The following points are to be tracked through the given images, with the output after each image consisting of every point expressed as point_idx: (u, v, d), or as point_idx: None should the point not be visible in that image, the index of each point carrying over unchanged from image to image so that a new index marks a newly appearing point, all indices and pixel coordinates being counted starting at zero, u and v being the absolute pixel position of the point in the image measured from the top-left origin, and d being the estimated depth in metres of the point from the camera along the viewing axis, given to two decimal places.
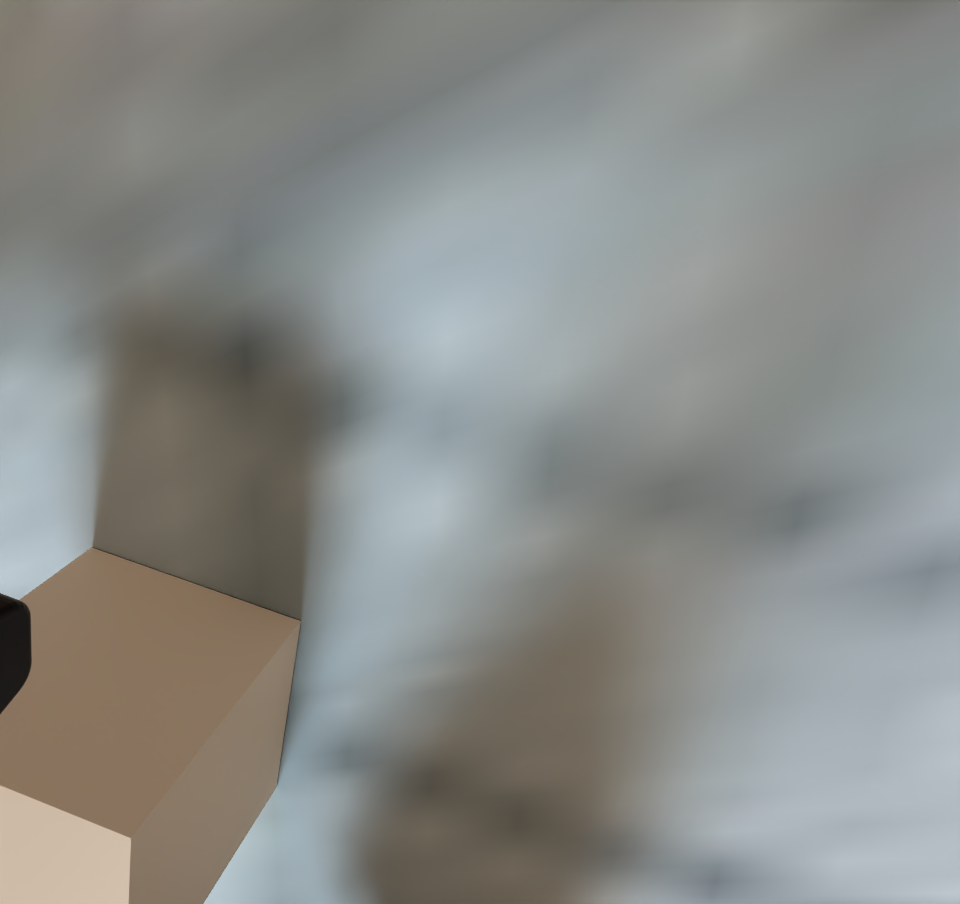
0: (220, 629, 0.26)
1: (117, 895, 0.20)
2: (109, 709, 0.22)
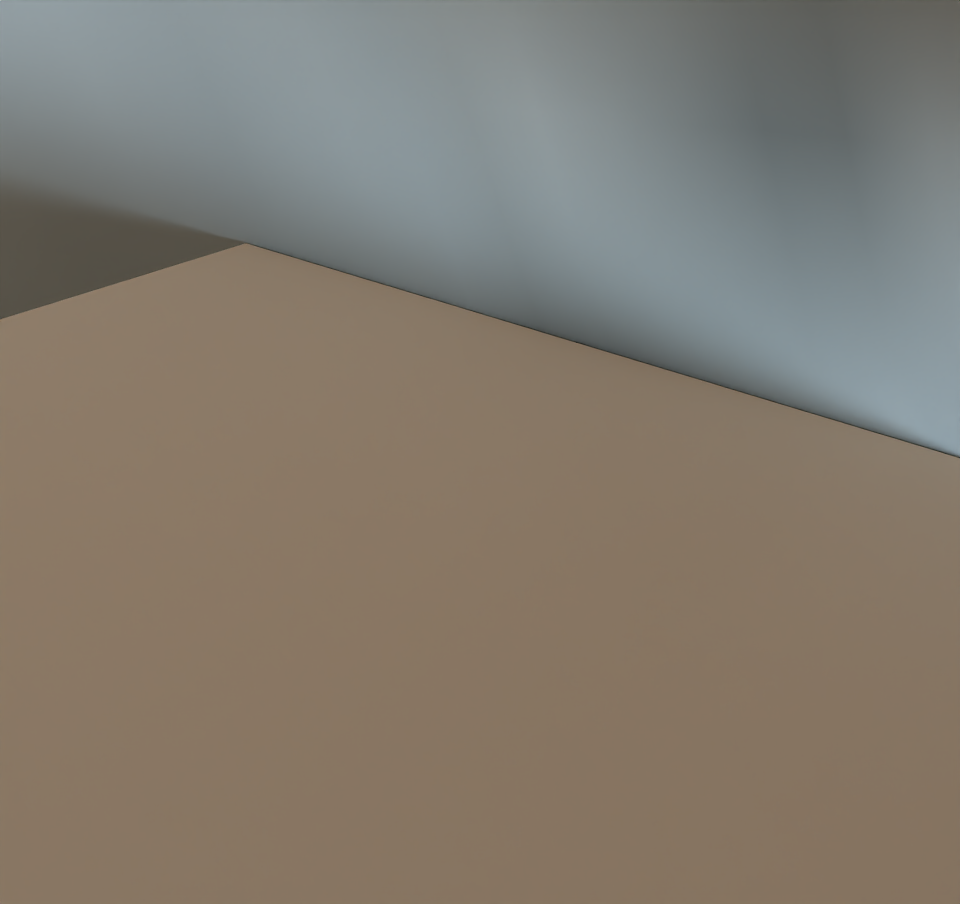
0: None
1: None
2: None
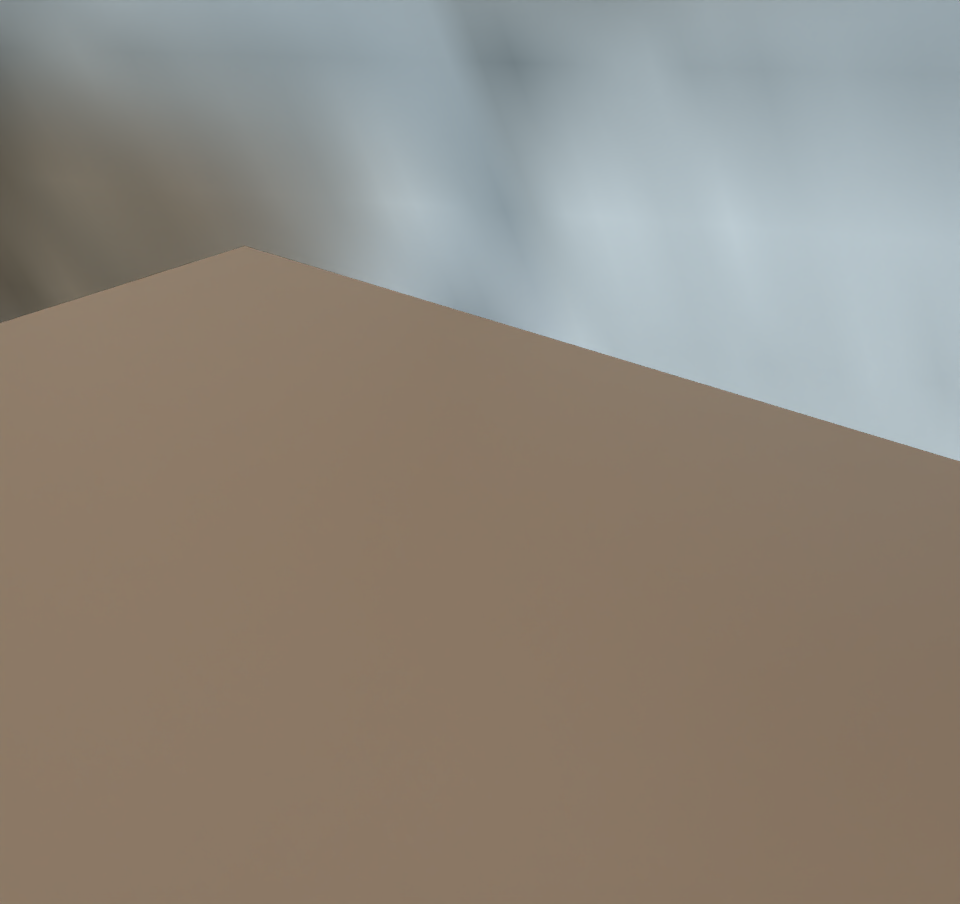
0: None
1: None
2: None
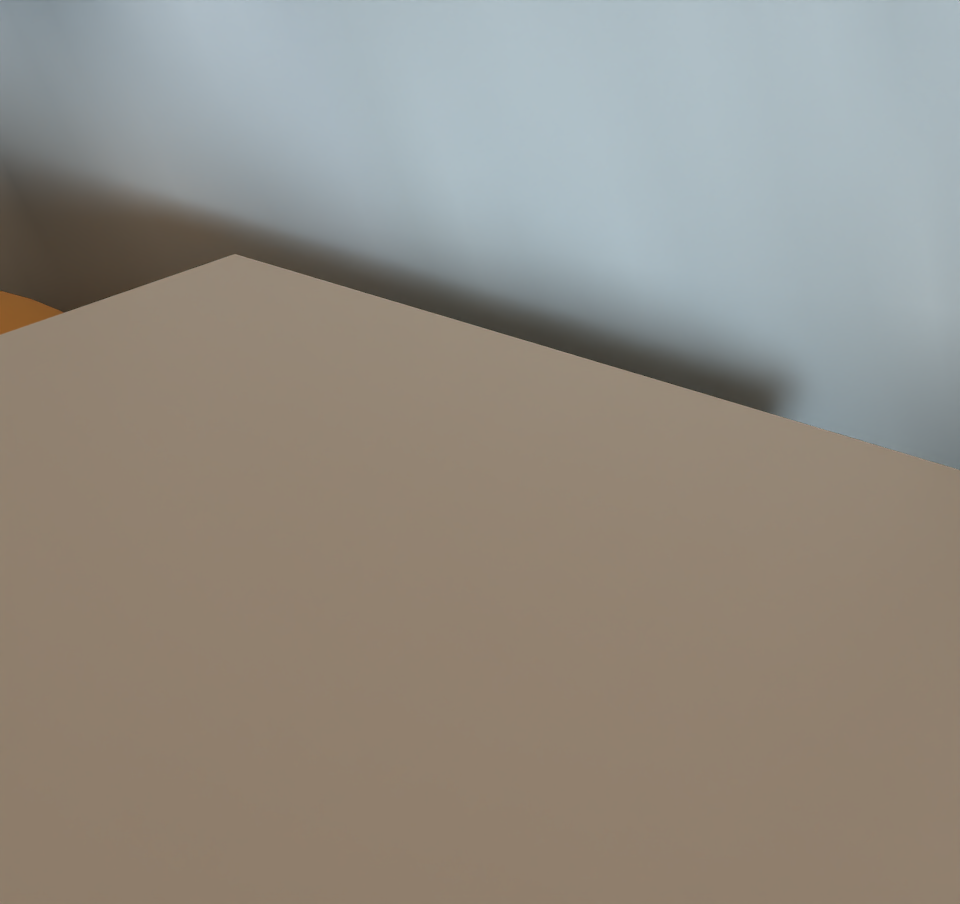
0: None
1: None
2: None
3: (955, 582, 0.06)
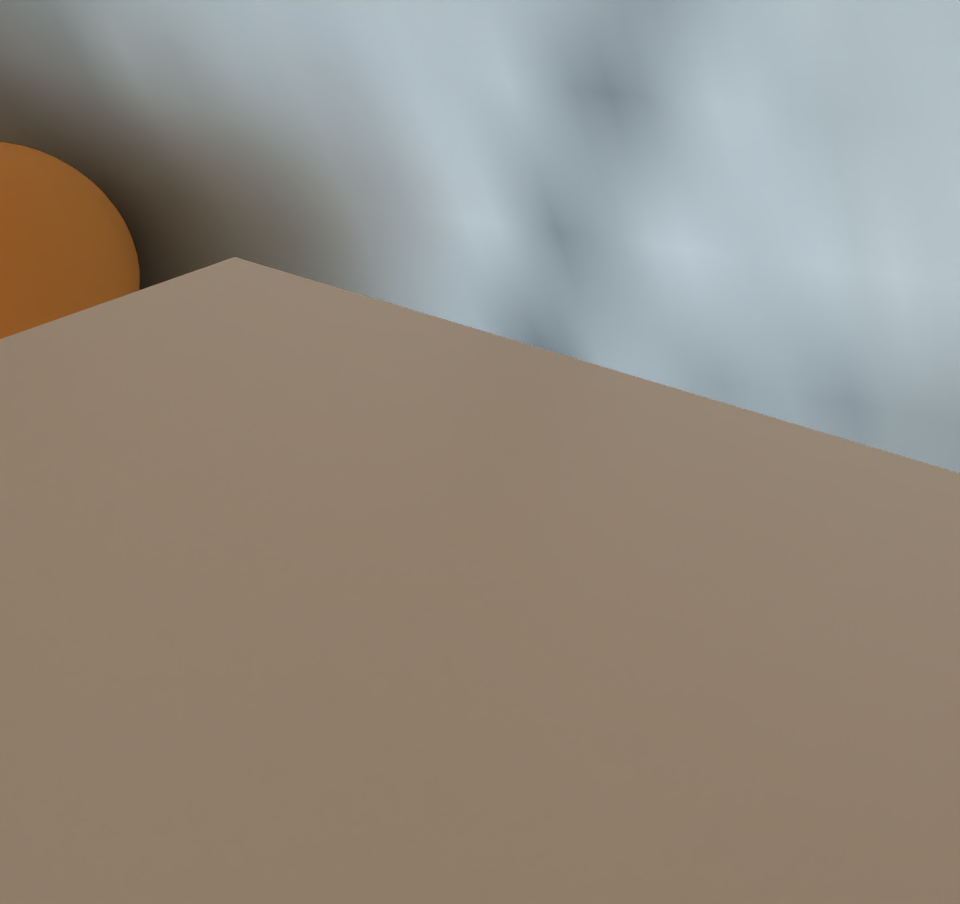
0: None
1: None
2: None
3: (953, 586, 0.06)
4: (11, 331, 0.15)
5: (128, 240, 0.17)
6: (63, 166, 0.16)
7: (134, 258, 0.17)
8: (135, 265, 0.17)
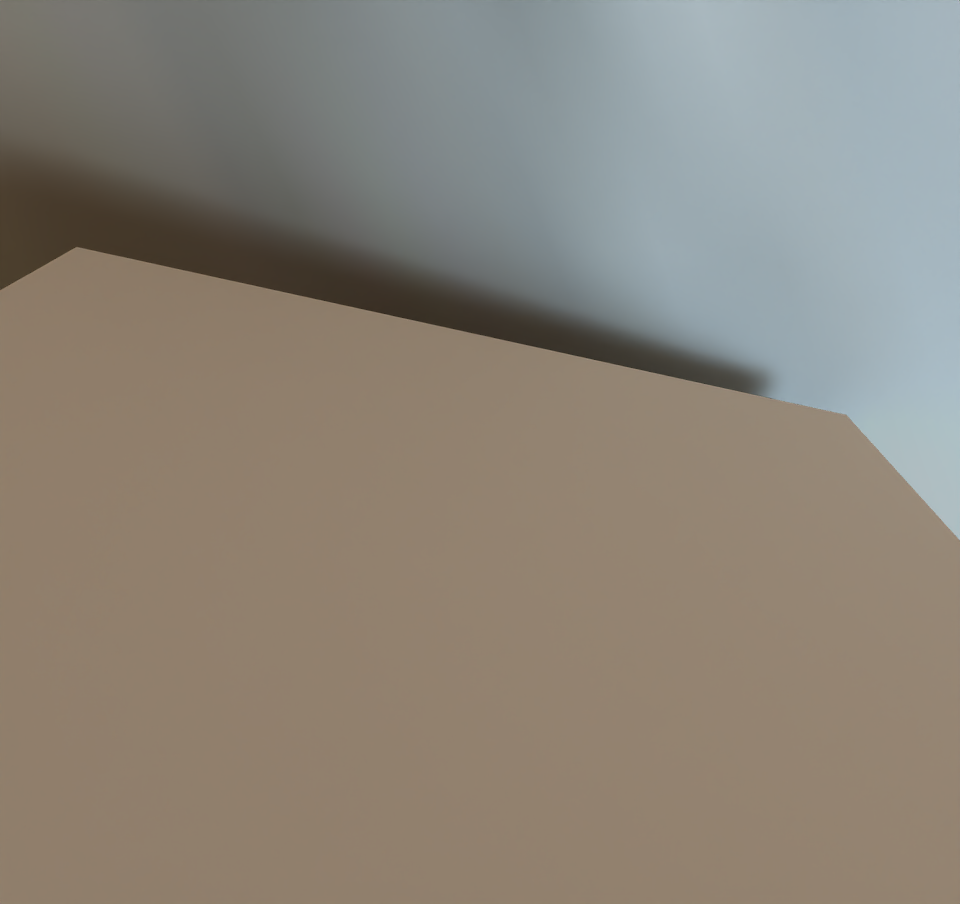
0: None
1: None
2: None
3: (882, 538, 0.06)
4: None
5: None
6: None
7: None
8: None
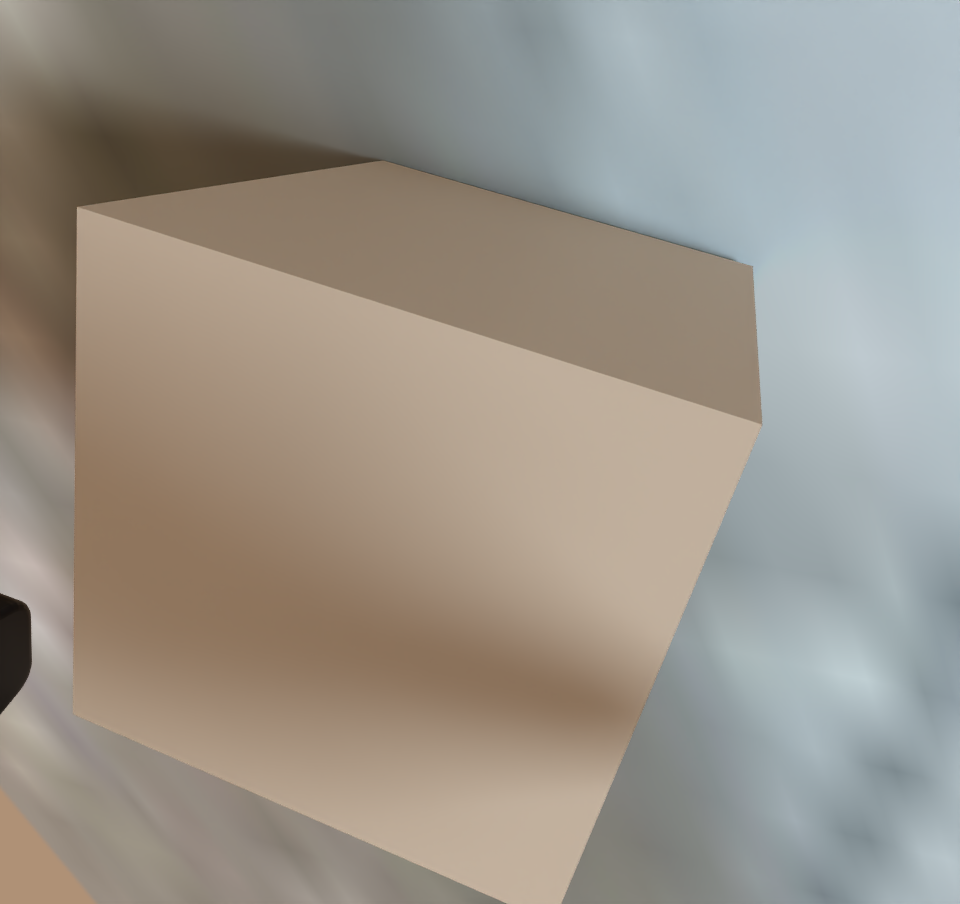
0: None
1: (252, 290, 0.09)
2: None
3: (708, 279, 0.14)
4: None
5: None
6: None
7: None
8: None
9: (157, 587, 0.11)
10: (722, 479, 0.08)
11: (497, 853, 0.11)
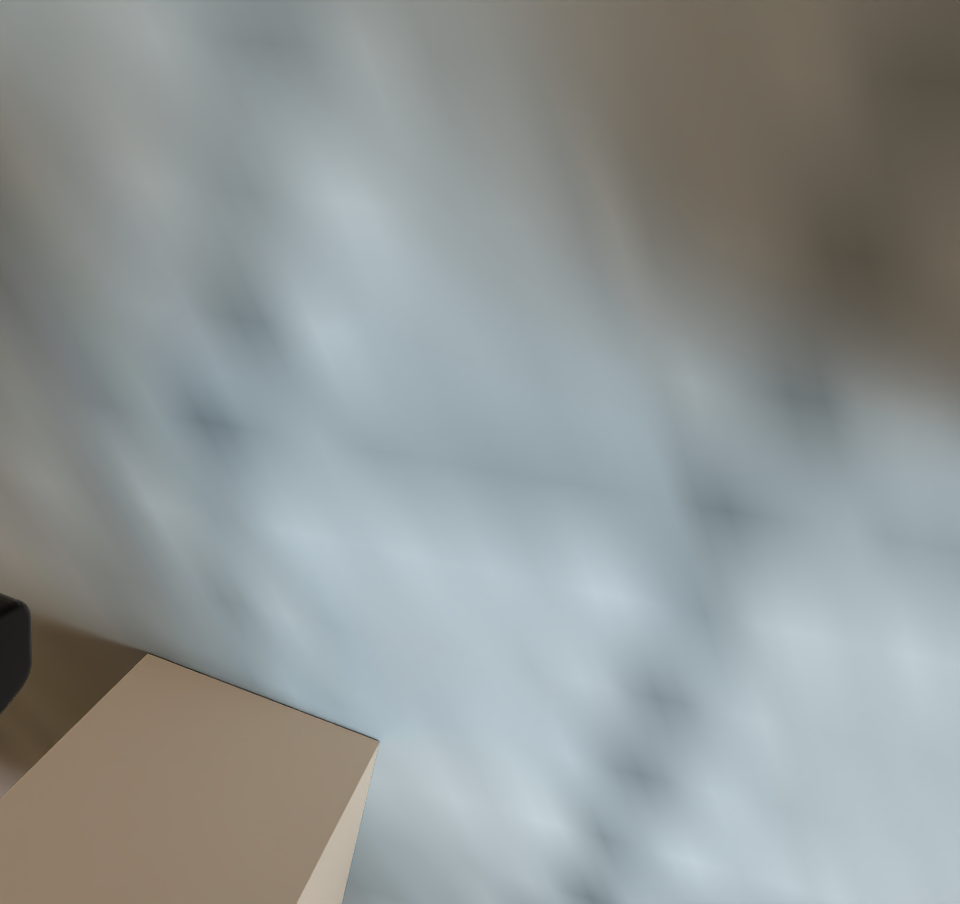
0: None
1: None
2: None
3: (320, 796, 0.22)
4: None
5: None
6: None
7: None
8: None
9: None
10: None
11: None
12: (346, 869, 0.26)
